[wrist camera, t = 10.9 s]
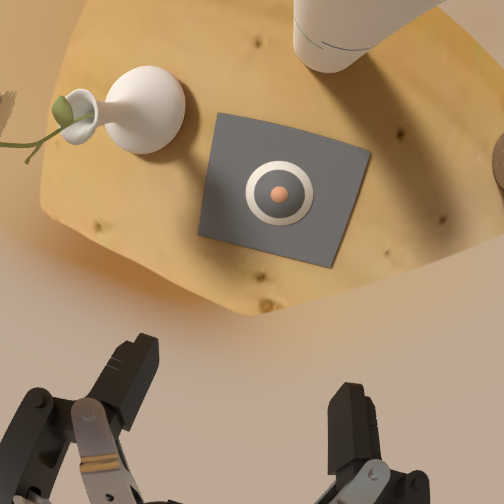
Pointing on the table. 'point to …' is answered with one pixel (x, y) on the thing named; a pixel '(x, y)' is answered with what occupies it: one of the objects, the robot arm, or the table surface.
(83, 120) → the flower in vase
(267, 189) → the pad
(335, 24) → the cylindrical container
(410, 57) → the table surface
